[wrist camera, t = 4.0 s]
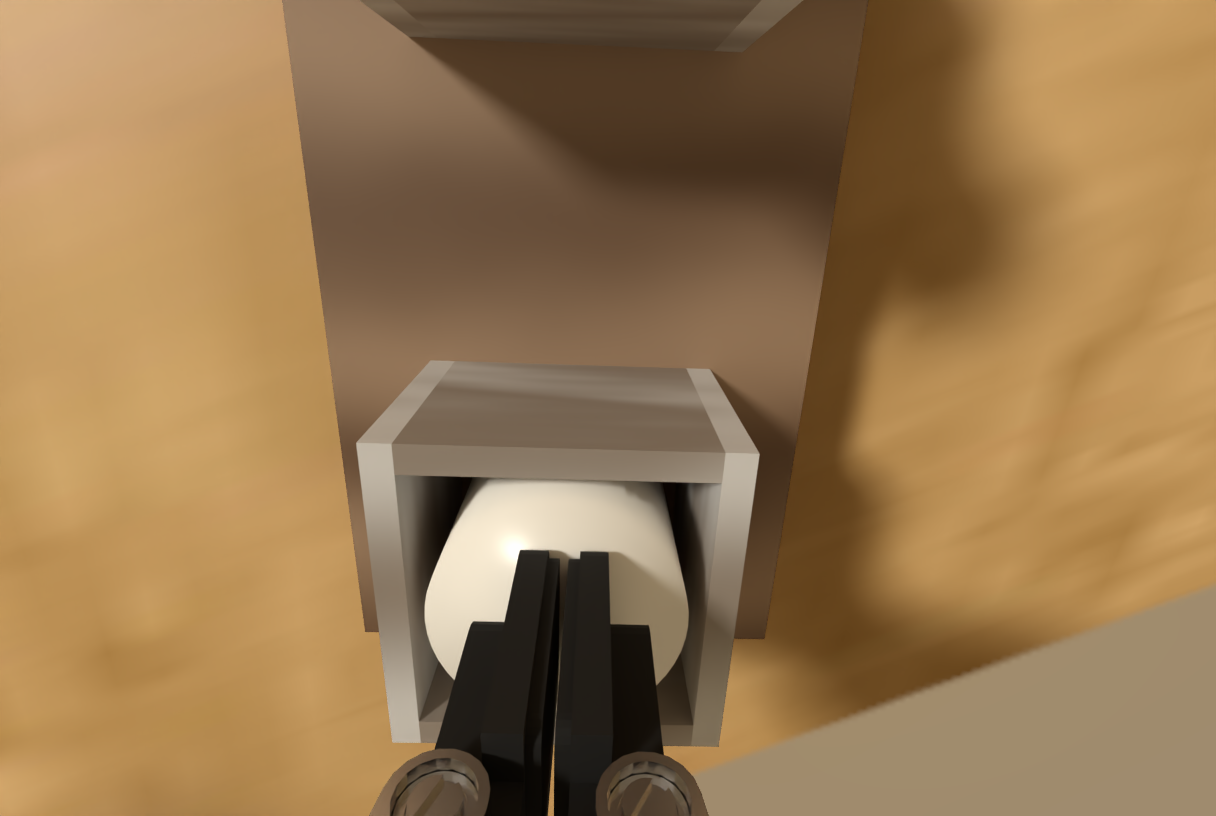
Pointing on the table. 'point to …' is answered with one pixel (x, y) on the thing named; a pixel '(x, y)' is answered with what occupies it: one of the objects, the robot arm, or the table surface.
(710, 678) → the button box
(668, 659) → the plunger white
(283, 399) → the table surface
